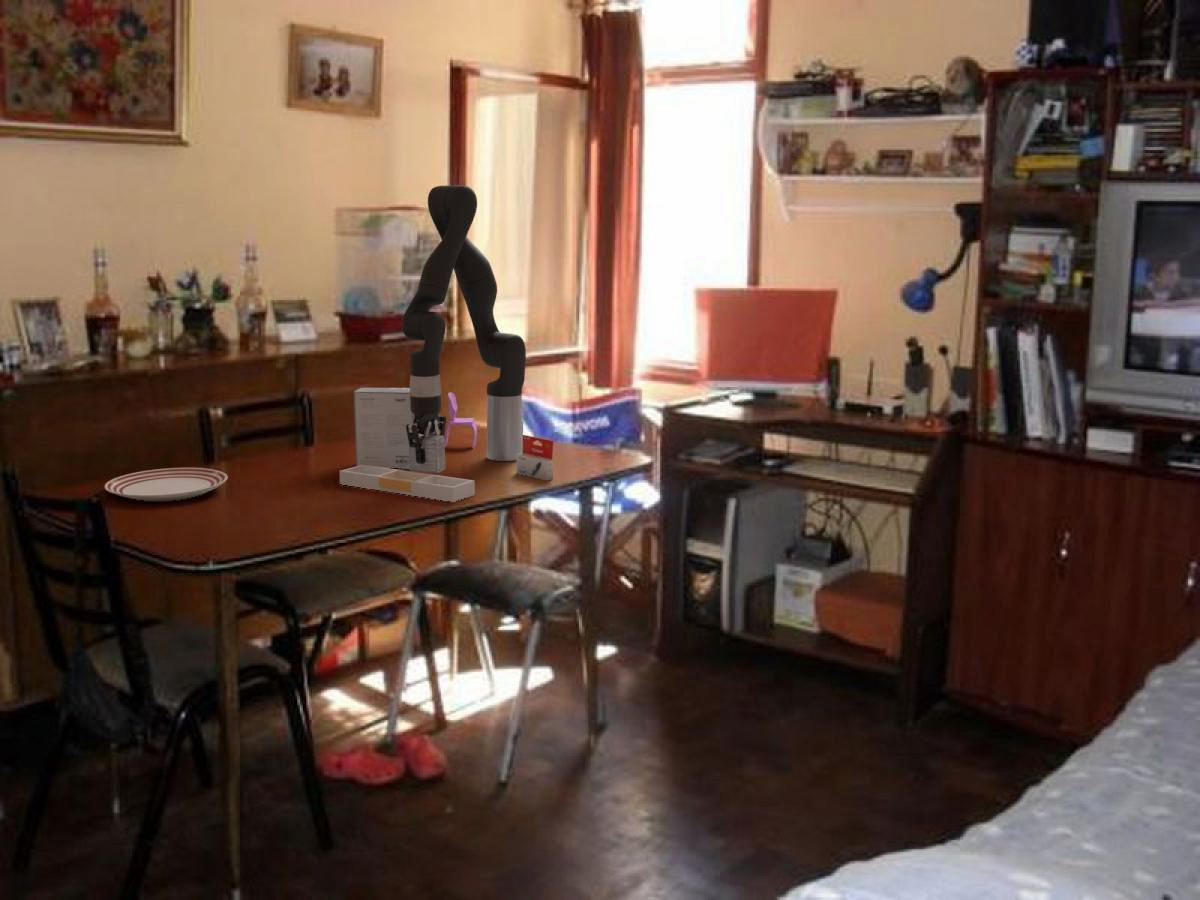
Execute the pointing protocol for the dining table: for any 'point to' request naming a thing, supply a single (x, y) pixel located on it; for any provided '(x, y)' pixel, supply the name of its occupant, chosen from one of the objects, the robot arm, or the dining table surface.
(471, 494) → the compartment tray
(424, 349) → the robot arm
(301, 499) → the dining table surface
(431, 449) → the medicine box
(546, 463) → the ink cartridge box
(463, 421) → the toy chair
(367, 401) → the hard drive box
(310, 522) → the dining table surface
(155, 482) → the dinner plate
